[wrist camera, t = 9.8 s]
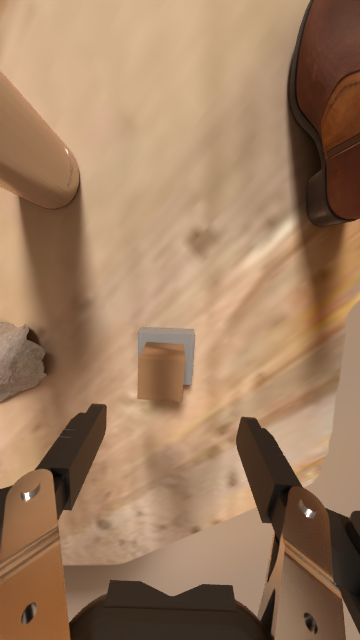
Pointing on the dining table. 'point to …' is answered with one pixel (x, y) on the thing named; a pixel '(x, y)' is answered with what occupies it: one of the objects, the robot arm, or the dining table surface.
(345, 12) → the boot
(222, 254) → the dining table surface
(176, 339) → the slate block
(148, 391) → the walnut cube
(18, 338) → the stone
